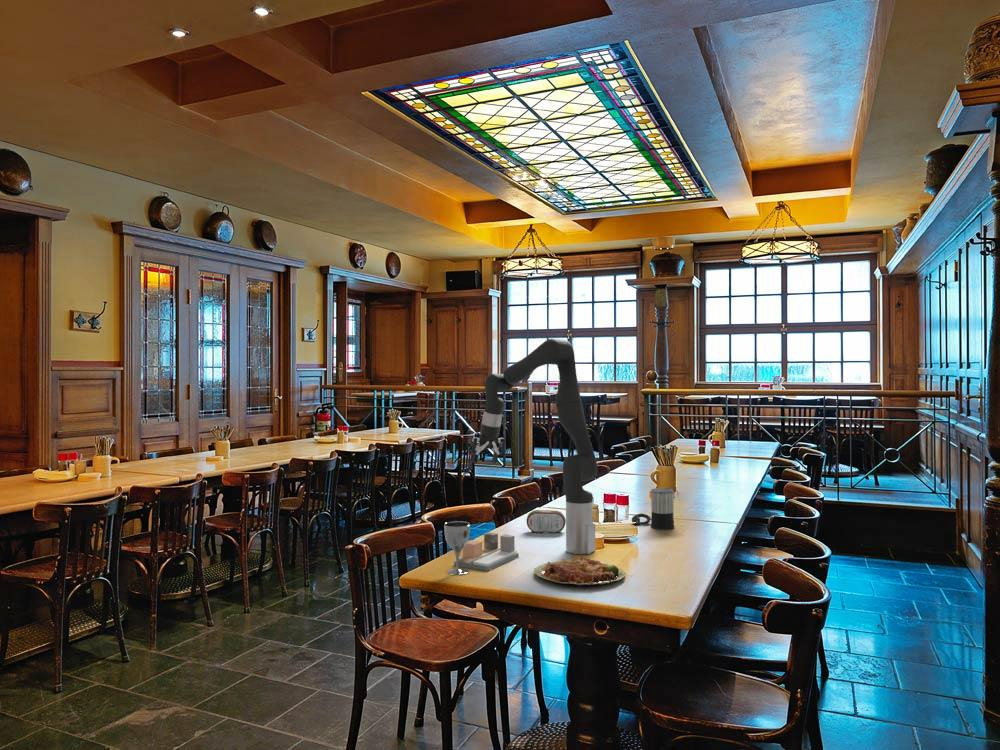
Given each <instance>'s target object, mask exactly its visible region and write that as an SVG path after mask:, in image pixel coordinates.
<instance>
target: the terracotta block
mask: <svg viewBox="0 0 1000 750" xmlns="http://www.w3.org/2000/svg"><path fill="white" fill-rule="evenodd" d="M482 548H483V541H480V540H475V539H469V540H468V542H467V544H466V545H465V546H464V548H463V549H462V556H463V557H467V558H474V559H475V558H477V557H480V556H482Z"/></svg>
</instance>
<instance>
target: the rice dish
mask: <svg viewBox="0 0 1000 750" xmlns="http://www.w3.org/2000/svg"><path fill="white" fill-rule="evenodd" d="M542 571H545V573H544V574H542V573H541V572H542ZM533 573H534V574H535V575H536V576H537V577H541V578H542V579H545V580H547V581H550V582H554V583H556V584H561V585H571V584H572V585H576V586H582V585H583V586H584V585H587V586H589V585H591V586H592V585H598V584H603V585H607V584H610V583H612V582H615V581H619V580H622V579H623V578H625V576H626V572H625V571H624V570H623V569H622V568H620V567H618V566H616V565H615V564H608V563H603V562H601V561H600V560H593V559H591V558H586V557H583V556H581V557H574V558H572V559H564V558H562V559H561V561H558V560H557V561H555V562H553V561H552V562H550V561H548V562H547V563H542V564H540V565H538V566H536V567H534V570H533ZM616 576H617V577H618V578H617V579H616V578H615V577H616ZM615 579H616V580H615ZM611 580H613V581H611ZM599 581H611V582H603V583H595V582H599ZM606 583H607V584H606Z"/></svg>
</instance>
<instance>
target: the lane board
mask: <svg viewBox="0 0 1000 750" xmlns="http://www.w3.org/2000/svg"><path fill="white" fill-rule="evenodd" d="M499 550H500V548H499V549H498V550H495V551H493V552H491V553H488V554H486V555H484V556H481V557H479V558H477V559H474V560H472V561H470V564H468V563H462V562H459V568H460V567H461V568H468V569H472V570H477V569H479V571H483V570H487V571H486V572H489V571H488V570H490V569H492V570H494V569H496V568H498V567H500V566H499V565H501V566H502V564H503V565H505V564H507V563H509V562H511V561H513V560H515V558H516V559H517V557H518V558H519V553H517V552H516V554H514V555H512V556H510V557H508V558H506V559H503V560H501V561H499V562H497V563H495V564H492V565H490V566H488V567H486V566H480V565H474V564H473V561H476V560H478V559H480V558H483V557H485V556H487V555H490V554H492V553H494V552H497V551H499ZM510 560H511V561H510ZM508 561H509V562H508ZM506 562H507V563H506ZM504 563H505V564H504ZM453 566H454V567H456V560H455V561H453ZM497 566H498V567H497ZM495 567H496V568H495ZM493 568H494V569H493ZM490 571H491V570H490Z"/></svg>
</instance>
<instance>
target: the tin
mask: <svg viewBox="0 0 1000 750" xmlns="http://www.w3.org/2000/svg"><path fill="white" fill-rule="evenodd" d="M526 525H527V527H528V529H529V530H530V532H532V533H536V532H558V533H560V532H562V531H563V530H564V528H566V516H565V515H564V514H563V513H562V512H561V511H560V510H559V511H558V510H549V509H548V510H545V509H544V510H543V509H535V510H532V511H530V512H529V513H528V515H527V517H526Z"/></svg>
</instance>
